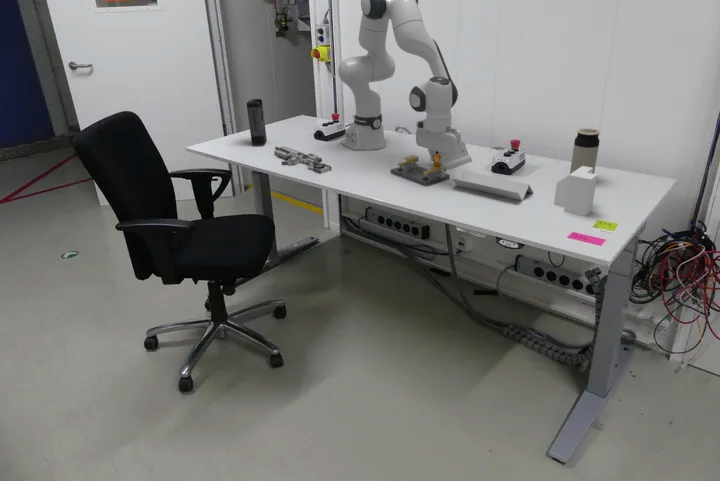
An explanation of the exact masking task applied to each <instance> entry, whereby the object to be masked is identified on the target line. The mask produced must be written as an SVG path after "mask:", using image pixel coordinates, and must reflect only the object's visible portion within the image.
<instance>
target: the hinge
mask: <svg viewBox="0 0 720 481" xmlns="http://www.w3.org/2000/svg"><path fill="white" fill-rule="evenodd" d="M461 144H462V152H461V153H460V155H457V156H451V155H448V156H447V157H446V159H445V164H443V165H445V166H444V171H445V172H447V171H450V170H452V169H455V168H457V167H458V168H459V167H460V166H463V165H466V164H470V163H471V162H473V158H472V156H470V155H469V153H468V152H469V151H468V149H467V145H466V143H465V141H461ZM434 153H435V154H441V152H438V151H434Z"/></svg>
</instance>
